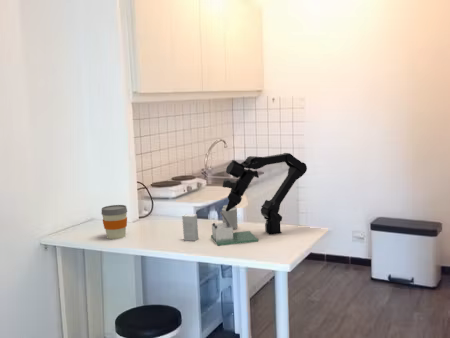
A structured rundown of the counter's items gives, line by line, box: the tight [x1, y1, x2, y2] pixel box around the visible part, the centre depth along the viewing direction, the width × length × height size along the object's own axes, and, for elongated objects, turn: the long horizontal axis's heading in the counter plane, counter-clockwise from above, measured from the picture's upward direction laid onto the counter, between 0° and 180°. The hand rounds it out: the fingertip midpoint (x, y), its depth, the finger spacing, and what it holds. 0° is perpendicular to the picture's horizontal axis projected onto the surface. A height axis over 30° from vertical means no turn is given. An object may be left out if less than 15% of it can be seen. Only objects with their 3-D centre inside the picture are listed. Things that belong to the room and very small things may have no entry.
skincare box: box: [181, 213, 199, 242], centre depth 247 cm, size 6×4×12 cm
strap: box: [219, 211, 230, 225], centre depth 242 cm, size 7×4×1 cm
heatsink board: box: [211, 222, 259, 246], centre depth 244 cm, size 19×16×8 cm
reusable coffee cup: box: [101, 204, 128, 240], centre depth 259 cm, size 13×13×15 cm
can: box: [221, 204, 239, 231], centre depth 264 cm, size 8×8×12 cm
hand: (227, 208), depth 248 cm, fingers open, 9 cm apart
